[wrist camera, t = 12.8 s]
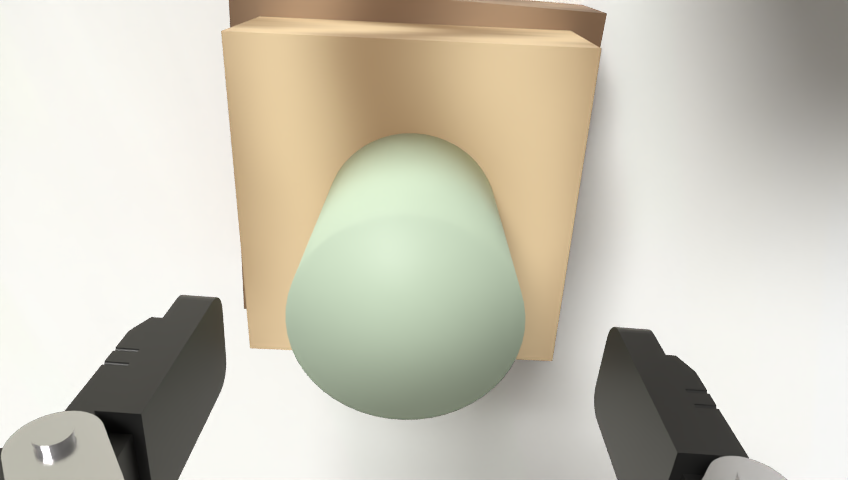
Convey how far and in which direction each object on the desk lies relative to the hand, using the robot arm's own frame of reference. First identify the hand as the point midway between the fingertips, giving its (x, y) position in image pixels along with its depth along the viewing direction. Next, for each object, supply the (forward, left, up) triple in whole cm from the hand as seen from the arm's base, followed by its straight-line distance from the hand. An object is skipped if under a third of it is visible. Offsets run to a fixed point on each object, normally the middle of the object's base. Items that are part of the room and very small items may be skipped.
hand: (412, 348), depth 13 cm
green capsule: (0, 0, -6) cm, 6 cm away
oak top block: (0, 0, -10) cm, 10 cm away
